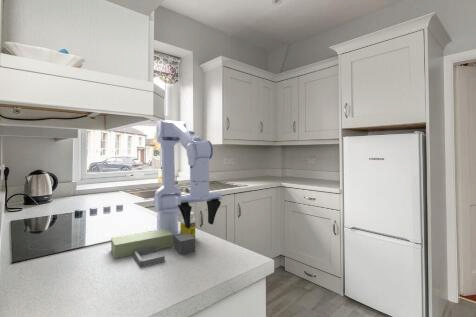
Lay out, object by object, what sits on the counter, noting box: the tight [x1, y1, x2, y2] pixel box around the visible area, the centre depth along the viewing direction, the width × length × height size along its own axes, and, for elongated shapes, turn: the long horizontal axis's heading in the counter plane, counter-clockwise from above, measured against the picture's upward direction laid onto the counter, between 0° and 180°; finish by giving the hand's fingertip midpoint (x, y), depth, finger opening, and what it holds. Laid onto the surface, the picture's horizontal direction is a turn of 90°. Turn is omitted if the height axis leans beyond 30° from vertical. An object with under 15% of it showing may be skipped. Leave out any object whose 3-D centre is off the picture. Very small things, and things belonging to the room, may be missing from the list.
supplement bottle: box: [179, 211, 196, 239], centre depth 93 cm, size 5×5×10 cm
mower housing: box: [110, 229, 174, 268], centre depth 80 cm, size 18×18×4 cm
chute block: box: [173, 233, 196, 256], centre depth 83 cm, size 6×5×4 cm
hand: (199, 225), depth 76 cm, fingers open, 7 cm apart
